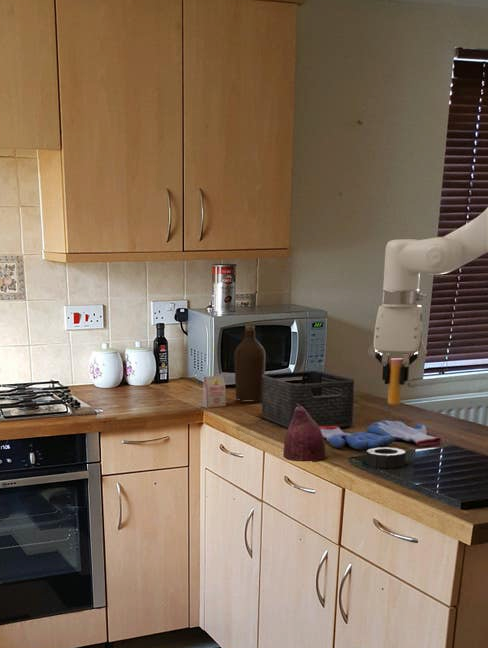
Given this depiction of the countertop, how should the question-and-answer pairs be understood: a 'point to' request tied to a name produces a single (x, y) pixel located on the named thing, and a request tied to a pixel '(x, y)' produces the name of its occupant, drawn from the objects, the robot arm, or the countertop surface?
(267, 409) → the storage bin
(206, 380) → the pink carton
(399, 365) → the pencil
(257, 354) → the brown bottle
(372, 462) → the tape
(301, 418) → the vegetable
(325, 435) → the pair of gloves
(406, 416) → the countertop surface
